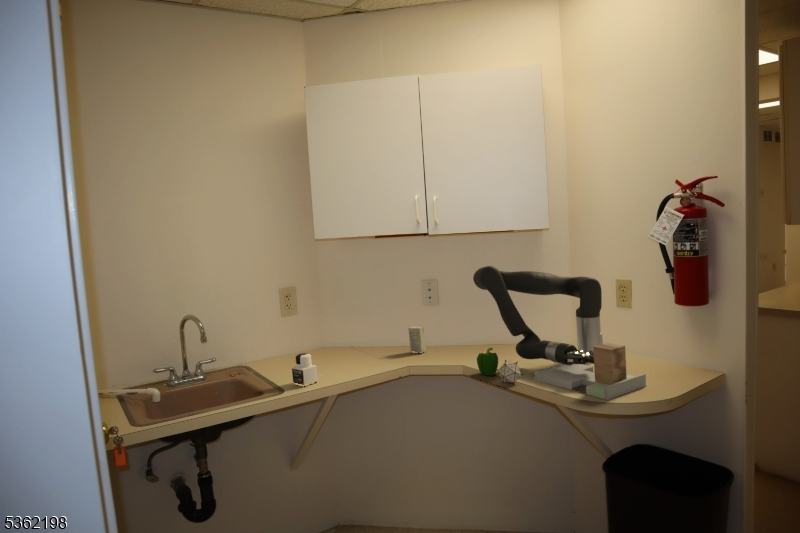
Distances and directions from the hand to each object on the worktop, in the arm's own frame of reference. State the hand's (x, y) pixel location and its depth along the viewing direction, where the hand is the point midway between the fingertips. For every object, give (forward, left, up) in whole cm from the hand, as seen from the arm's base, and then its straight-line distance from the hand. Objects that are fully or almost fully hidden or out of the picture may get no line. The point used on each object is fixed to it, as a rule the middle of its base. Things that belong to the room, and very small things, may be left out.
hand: (601, 361), depth 174 cm
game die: (+19, -25, -9) cm, 32 cm away
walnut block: (0, +4, -6) cm, 7 cm away
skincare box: (+17, -89, -9) cm, 91 cm away
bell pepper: (+17, -39, -9) cm, 43 cm away
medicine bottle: (+76, -81, -9) cm, 111 cm away
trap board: (0, -6, -9) cm, 11 cm away
